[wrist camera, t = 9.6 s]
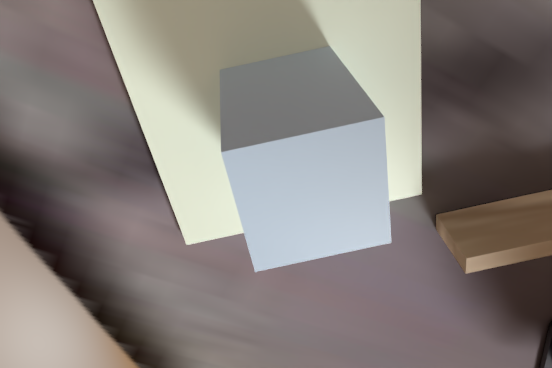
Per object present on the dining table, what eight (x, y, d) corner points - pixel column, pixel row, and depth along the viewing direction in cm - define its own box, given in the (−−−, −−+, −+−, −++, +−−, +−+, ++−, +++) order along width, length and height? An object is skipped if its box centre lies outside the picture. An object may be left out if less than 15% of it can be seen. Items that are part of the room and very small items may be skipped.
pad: (417, 187, 23) (421, 194, 22) (187, 237, 23) (186, 245, 23) (413, -81, 16) (419, -80, 16) (93, -11, 17) (89, -8, 16)
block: (341, 143, 20) (391, 242, 15) (244, 164, 20) (255, 271, 15) (329, 45, 18) (384, 117, 12) (219, 69, 18) (221, 152, 12)
